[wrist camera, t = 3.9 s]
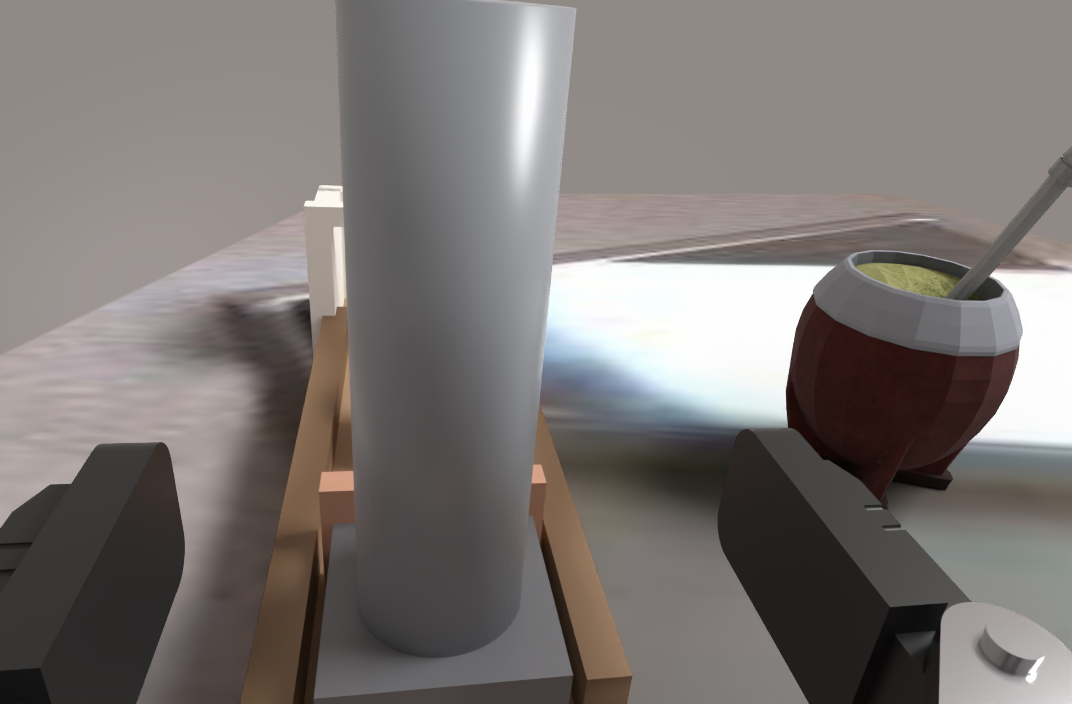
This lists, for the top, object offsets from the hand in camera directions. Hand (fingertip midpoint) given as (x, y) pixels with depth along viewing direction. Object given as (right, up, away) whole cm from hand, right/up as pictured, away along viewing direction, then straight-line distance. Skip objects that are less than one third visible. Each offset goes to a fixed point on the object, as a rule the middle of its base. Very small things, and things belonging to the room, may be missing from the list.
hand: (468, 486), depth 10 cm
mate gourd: (+14, -3, +18) cm, 23 cm away
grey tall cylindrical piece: (-1, -5, +7) cm, 9 cm away
